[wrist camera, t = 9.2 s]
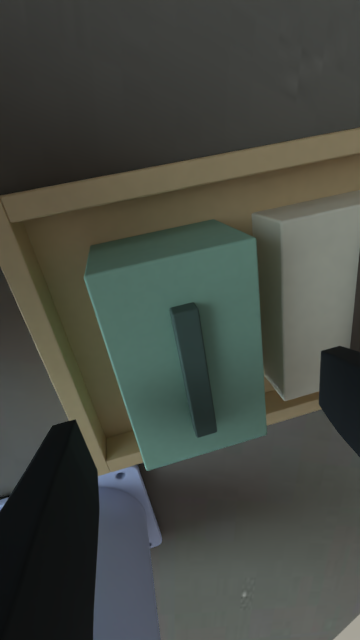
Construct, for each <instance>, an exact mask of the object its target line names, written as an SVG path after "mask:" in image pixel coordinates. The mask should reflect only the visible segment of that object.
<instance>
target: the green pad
mask: <svg viewBox="0 0 360 640" xmlns="http://www.w3.org/2000/svg"><path fill="white" fill-rule="evenodd" d="M84 281H85V284H86V287H87V290H88V293H89V296H90V299H91V302H92V305H93V308H94V312H95V315H96V318H97V321H98V324H99V327H100V330H101V333H102V336H103V339H104V342H105V345H106V348H107V352H108V355H109V358H110V361H111V364H112V367H113V370H114V373H115V376H116V379H117V382H118V385H119V388H120V391H121V395H122V398H123V401H124V404H125V407H126V410H127V413H128V416H129V419H130V422H131V425H132V428H133V431H134V434H135V438H136V441H137V444H138V447H139V450H140V453H141V456H142V459H143V462H144V465H145V468H146V470H147V471H149V470H152V469H156V468H159V467H162V466H166V465H169V464H172V463H176V462H179V461H182V460H185V459H189V458H192V457H195V456H199V455H202V454H205V453H209V452H212V451H215V450H218V449H222V448H225V447H228V446H232V445H235V444H238V443H241V442H245V441H248V440H251V439H255V438H258V437H261V436H265V435H267V424H266V405H265V387H264V368H263V350H262V332H261V313H260V295H259V276H258V258H257V240H256V238H255V237H253V236H251V235H248V234H246V233H244V232H242V231H239V230H237V229H235V228H233V227H230V226H228V225H226V224H224V223H221V222H219V221H217V220H215V219H212V220H207V221H202V222H198V223H193V224H188V225H184V226H179V227H174V228H170V229H165V230H160V231H156V232H151V233H146V234H142V235H137V236H132V237H128V238H123V239H118V240H114V241H109V242H104V243H100V244H95V245H91V246H90V250H89V255H88V259H87V264H86V269H85V274H84Z"/></svg>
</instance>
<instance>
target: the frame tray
mask: <svg viewBox="0 0 360 640" xmlns="http://www.w3.org/2000/svg"><path fill="white" fill-rule="evenodd" d="M357 190H360V127H359V128H354V129H348V130H343V131H338V132H333V133H327V134H322V135H317V136H311V137H306V138H301V139H296V140H290V141H285V142H280V143H275V144H269V145H264V146H259V147H253V148H248V149H243V150H238V151H232V152H227V153H222V154H216V155H211V156H206V157H201V158H195V159H190V160H185V161H179V162H174V163H169V164H164V165H158V166H153V167H148V168H143V169H137V170H132V171H127V172H121V173H116V174H111V175H106V176H100V177H95V178H90V179H84V180H79V181H74V182H69V183H63V184H58V185H53V186H47V187H42V188H37V189H32V190H26V191H21V192H16V193H11V194H5V195H0V267H1V269H2V271H3V274H4V276H5V278H6V280H7V283H8V285H9V287H10V289H11V292H12V294H13V296H14V298H15V301H16V303H17V305H18V307H19V310H20V312H21V314H22V316H23V319H24V321H25V323H26V325H27V327H28V330H29V332H30V334H31V336H32V339H33V341H34V343H35V345H36V348H37V350H38V352H39V354H40V357H41V359H42V361H43V363H44V366H45V368H46V370H47V372H48V375H49V377H50V379H51V381H52V384H53V386H54V388H55V390H56V393H57V395H58V397H59V399H60V401H61V404H62V406H63V408H64V410H65V413H66V415H67V417H68V419H69V421H71V420H75V419H76V421H77V424H78V426H79V428H80V431H81V433H82V435H83V438H84V440H85V442H86V445H87V447H88V449H89V452H90V454H91V456H92V459H93V461H94V463H95V466H96V468H97V471H98V476H100V475H104V474H107V473H110V472H114V471H117V470H120V469H124V468H127V467H130V466H134V465H137V464H140V463H144V462H143V459H142V456H141V453H140V450H139V447H138V444H137V441H136V438H135V434H134V431H133V428H132V425H131V422H130V419H129V416H128V413H127V410H126V407H125V404H124V401H123V398H122V395H121V391H120V388H119V385H118V382H117V379H116V376H115V373H114V370H113V367H112V364H111V361H110V358H109V355H108V352H107V348H106V345H105V342H104V339H103V336H102V333H101V330H100V327H99V324H98V321H97V318H96V315H95V312H94V308H93V305H92V302H91V299H90V296H89V293H88V290H87V287H86V284H85V281H84V274H85V269H86V264H87V259H88V255H89V250H90V246H91V245H95V244H100V243H104V242H109V241H114V240H118V239H123V238H128V237H132V236H137V235H142V234H146V233H151V232H156V231H160V230H165V229H170V228H174V227H179V226H184V225H188V224H193V223H198V222H202V221H207V220H212V219H215V220H217V221H219V222H221V223H224V224H226V225H228V226H230V227H233V228H235V229H237V230H239V231H242V232H244V233H246V234H248V235H251V236H253V232H252V213H254V212H259V211H263V210H268V209H273V208H277V207H282V206H287V205H291V204H296V203H301V202H305V201H310V200H315V199H319V198H324V197H329V196H333V195H338V194H343V193H347V192H352V191H357ZM264 387H265V405H266V424H267V425H271V424H274V423H277V422H281V421H284V420H287V419H291V418H294V417H297V416H301V415H304V414H307V413H311V412H314V411H317V410H321V409H322V408H321V407H320V405H319V391H318V392H315V393H312V394H308V395H305V396H301V397H298V398H294V399H291V400H288V401H284V400H283V399H282V398H281V396H280V395H279V394H278V393H277V391H276V390H275V389H274V387H273V386H272V385H271V383H270V382H269V381H268V380H267V378H266V377H265V376H264Z"/></svg>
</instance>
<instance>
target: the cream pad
mask: <svg viewBox="0 0 360 640" xmlns="http://www.w3.org/2000/svg"><path fill="white" fill-rule="evenodd" d="M252 232H253V237H255V238H256V240H257V258H258V276H259V295H260V313H261V332H262V350H263V368H264V376H265V377H266V378H267V380H268V381H269V382H270V383H271V385H272V386H273V387H274V389H275V390H276V391H277V393H278V394H279V395H280V396H281V398H282V399H283V400H284V401H288V400H291V399H294V398H298V397H301V396H305V395H308V394H312V393H315V392H318V391H319V383H320V360H321V351H323V350H326V349H330V348H333V347H337V346H342V347H346V348H349V349H352V350H355V351H358V352H360V190H357V191H352V192H347V193H343V194H338V195H333V196H329V197H324V198H319V199H315V200H310V201H305V202H301V203H296V204H291V205H287V206H282V207H277V208H273V209H268V210H263V211H259V212H254V213H252Z"/></svg>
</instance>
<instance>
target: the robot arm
mask: <svg viewBox="0 0 360 640" xmlns="http://www.w3.org/2000/svg"><path fill="white" fill-rule="evenodd" d="M319 405H320V407H321V408H322V410H323V411H324V413H325V414H326V416H327V417H328V419H329V420H330V422H331V423H332V424H333V426H334V427H335V429H336V430H337V431H338V433H339V434H340V435H341V436H342V437H343V439H344V440H345V441H346V442H347V443H348V444H349V445H350V447H351V448H352V449H353V450H354V451H355V452H356V453H357V454H358V456H359V457H360V352H358V351H355V350H352V349H349V348H346V347H342V346H337V347H333V348H330V349H326V350H323V351H321V360H320V383H319ZM121 472H122V473H121ZM161 542H162V535H161V532H160V529H159V526H158V523H157V520H156V517H155V514H154V511H153V509H152V506H151V503H150V500H149V497H148V494H147V491H146V488H145V485H144V482H143V479H142V476H141V473H140V470H139V467H138V465H134V466H130V467H127V468H124V469H120V470H117V471H114V472H110V473H107V474H104V475H100V476H98V471H97V468H96V466H95V463H94V461H93V459H92V456H91V454H90V452H89V449H88V447H87V445H86V442H85V440H84V438H83V435H82V433H81V431H80V428H79V426H78V424H77V421H76V419H75V420H71V421H68V422H64V423H60V424H57V425H53V426H52V427H51V429H50V431H49V432H48V434H47V435H46V437H45V439H44V440H43V442H42V444H41V445H40V447H39V449H38V450H37V452H36V454H35V456H34V457H33V459H32V461H31V462H30V464H29V466H28V467H27V469H26V471H25V472H24V474H23V476H22V477H21V479H20V480H19V482H18V484H17V485H16V487H15V488H14V490H13V492H12V493H11V495H10V496H9V497H7V498H4V499H1V500H0V640H161V639H160V630H159V622H158V613H157V605H156V596H155V588H154V579H153V570H152V562H151V553H150V548H153V547H156V546H158V545H160V544H161Z"/></svg>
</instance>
